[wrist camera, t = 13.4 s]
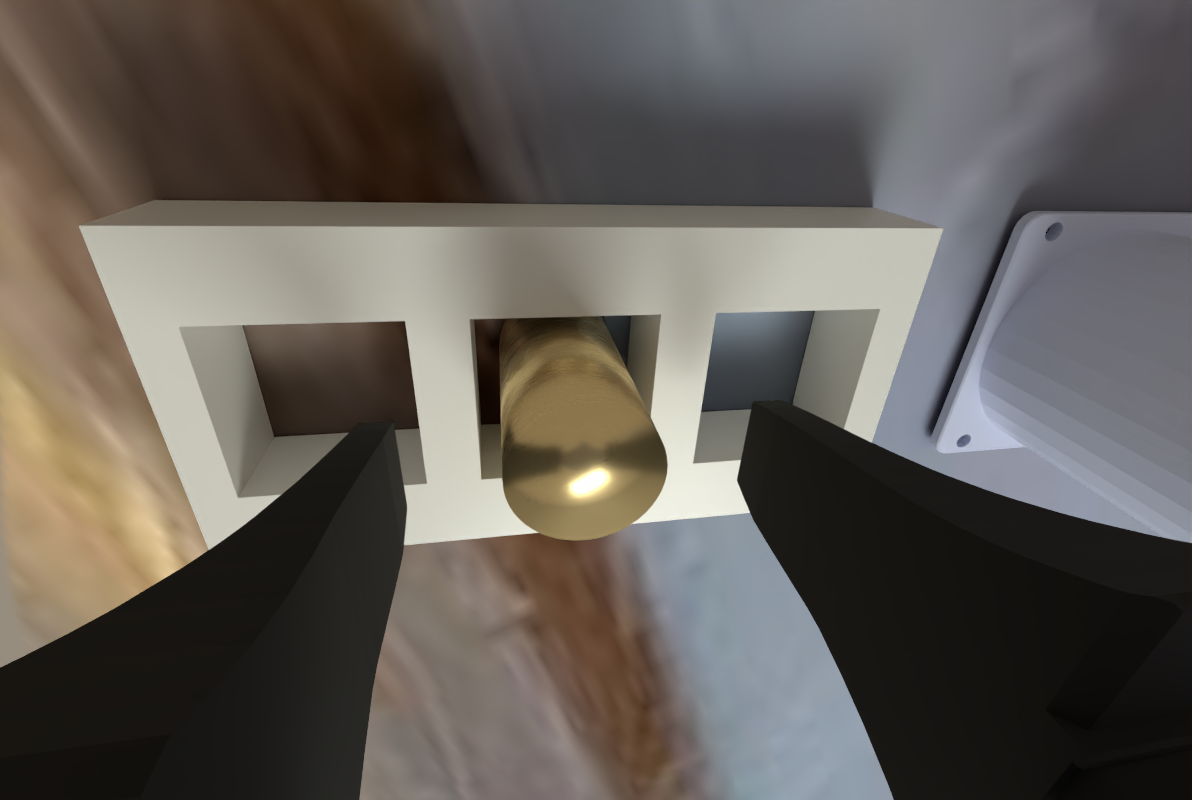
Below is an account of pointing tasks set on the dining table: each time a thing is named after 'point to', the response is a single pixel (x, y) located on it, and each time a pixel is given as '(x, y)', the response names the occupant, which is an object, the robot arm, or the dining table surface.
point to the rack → (493, 291)
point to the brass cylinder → (574, 430)
